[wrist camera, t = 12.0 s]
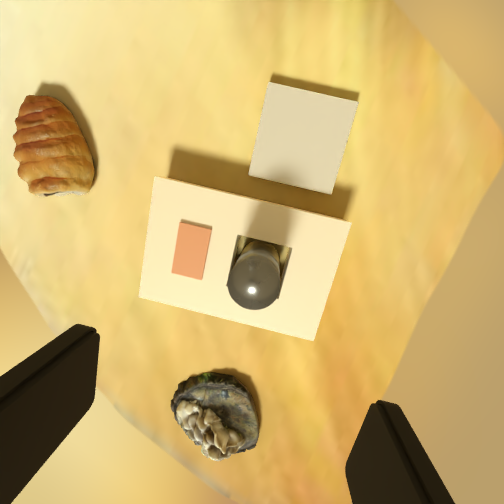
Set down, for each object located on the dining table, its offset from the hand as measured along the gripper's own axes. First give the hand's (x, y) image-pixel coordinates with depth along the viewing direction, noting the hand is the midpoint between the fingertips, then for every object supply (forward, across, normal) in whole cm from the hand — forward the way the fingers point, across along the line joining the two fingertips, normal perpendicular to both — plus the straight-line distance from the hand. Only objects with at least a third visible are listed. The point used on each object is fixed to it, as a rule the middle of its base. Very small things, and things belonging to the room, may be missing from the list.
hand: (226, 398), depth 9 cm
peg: (+19, 0, 0) cm, 19 cm away
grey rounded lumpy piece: (+20, 0, +21) cm, 29 cm away
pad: (+20, -1, -12) cm, 23 cm away
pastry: (+20, +22, -5) cm, 30 cm away
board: (+19, +2, 0) cm, 19 cm away
